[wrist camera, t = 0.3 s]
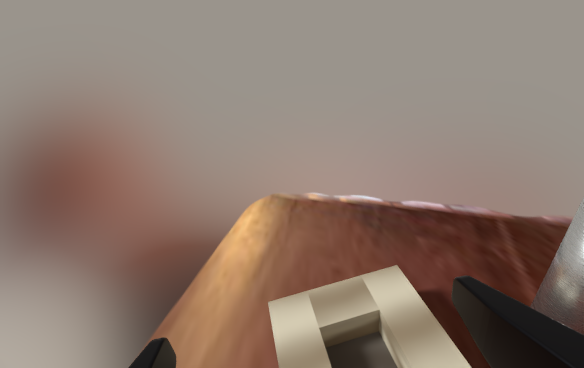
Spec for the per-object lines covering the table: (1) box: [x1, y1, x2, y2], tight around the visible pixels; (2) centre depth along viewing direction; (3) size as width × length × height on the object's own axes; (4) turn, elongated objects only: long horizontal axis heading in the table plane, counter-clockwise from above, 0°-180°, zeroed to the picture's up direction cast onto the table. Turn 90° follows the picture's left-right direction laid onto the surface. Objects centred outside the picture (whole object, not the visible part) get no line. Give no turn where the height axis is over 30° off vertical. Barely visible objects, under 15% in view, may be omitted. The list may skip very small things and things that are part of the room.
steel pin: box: [530, 198, 584, 335], centre depth 18 cm, size 4×4×14 cm
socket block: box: [268, 265, 471, 368], centre depth 21 cm, size 12×12×4 cm
